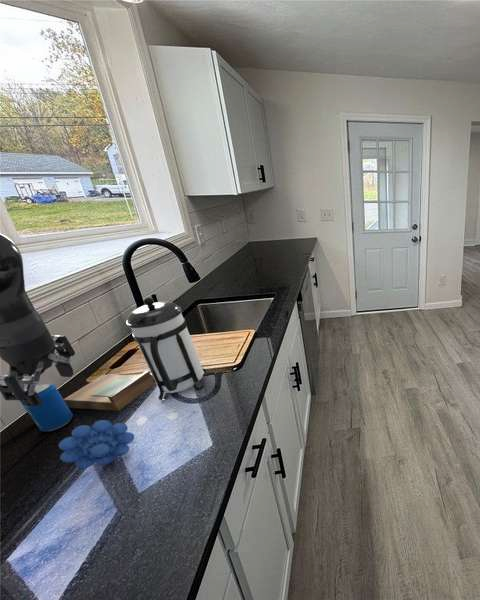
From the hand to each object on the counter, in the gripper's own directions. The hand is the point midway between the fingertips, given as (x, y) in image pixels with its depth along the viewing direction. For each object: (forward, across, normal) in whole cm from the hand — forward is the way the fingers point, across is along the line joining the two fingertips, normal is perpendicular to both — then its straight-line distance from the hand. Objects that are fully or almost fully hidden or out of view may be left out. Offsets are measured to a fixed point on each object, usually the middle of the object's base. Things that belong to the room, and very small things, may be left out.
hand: (52, 389), depth 70 cm
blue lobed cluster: (+14, +9, +13) cm, 21 cm away
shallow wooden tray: (+22, -18, -5) cm, 29 cm away
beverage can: (+22, -7, -12) cm, 26 cm away
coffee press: (+18, -18, +16) cm, 30 cm away
